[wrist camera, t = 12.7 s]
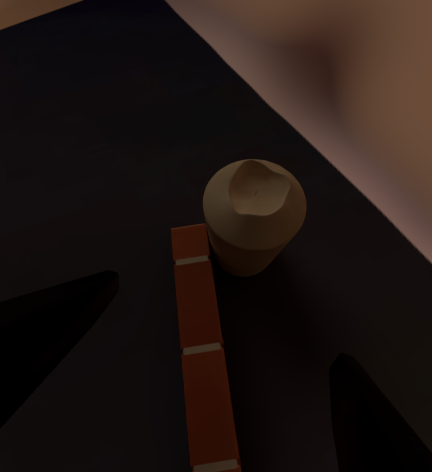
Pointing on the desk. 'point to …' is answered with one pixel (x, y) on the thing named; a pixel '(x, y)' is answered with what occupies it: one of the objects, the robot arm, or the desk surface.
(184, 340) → the brick wall
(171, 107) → the desk surface
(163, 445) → the desk surface
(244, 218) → the candle
